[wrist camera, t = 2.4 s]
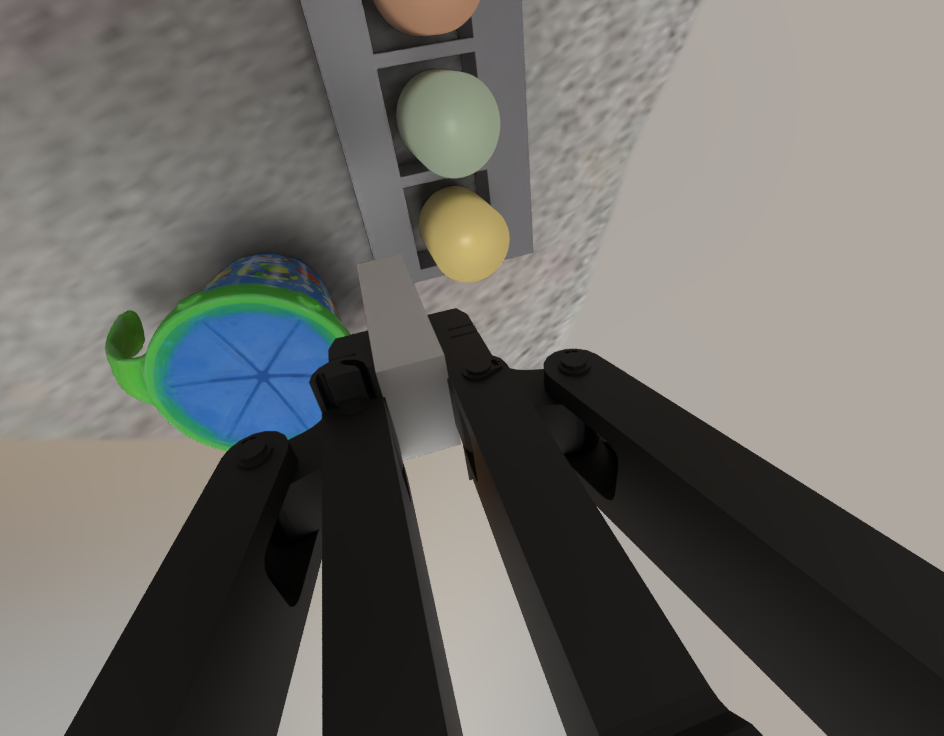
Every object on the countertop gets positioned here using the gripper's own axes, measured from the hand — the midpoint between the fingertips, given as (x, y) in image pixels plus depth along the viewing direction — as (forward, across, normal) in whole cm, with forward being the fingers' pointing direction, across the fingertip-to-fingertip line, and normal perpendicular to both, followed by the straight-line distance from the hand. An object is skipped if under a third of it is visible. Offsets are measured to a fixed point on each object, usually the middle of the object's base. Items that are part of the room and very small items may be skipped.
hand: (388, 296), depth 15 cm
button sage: (+13, +5, +4) cm, 15 cm away
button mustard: (+14, +5, -2) cm, 15 cm away
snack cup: (+17, -8, -6) cm, 20 cm away
